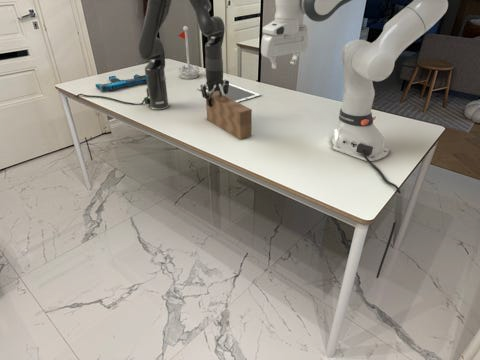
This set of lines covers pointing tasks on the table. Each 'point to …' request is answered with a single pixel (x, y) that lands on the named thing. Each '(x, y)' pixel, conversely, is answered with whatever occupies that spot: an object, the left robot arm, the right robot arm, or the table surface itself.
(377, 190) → the table surface
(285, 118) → the table surface
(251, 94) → the tablet
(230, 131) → the box
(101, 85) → the submachine gun
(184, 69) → the flag stand
